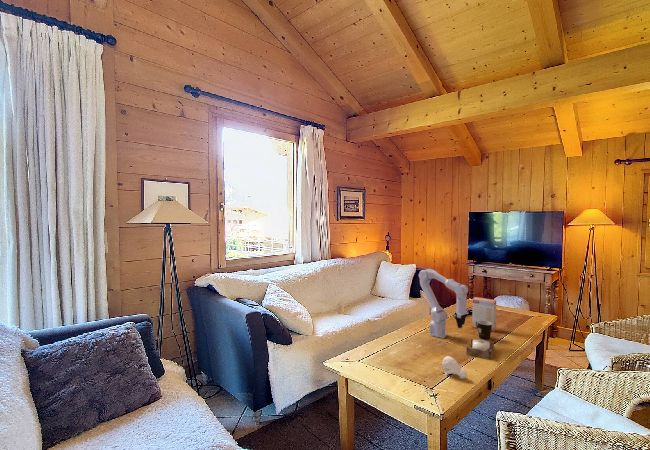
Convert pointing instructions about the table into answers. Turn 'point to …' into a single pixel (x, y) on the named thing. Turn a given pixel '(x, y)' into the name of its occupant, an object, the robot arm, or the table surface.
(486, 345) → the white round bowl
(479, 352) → the cradle
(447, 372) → the white rounded piece
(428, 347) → the table surface
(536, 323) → the table surface
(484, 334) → the coffee mug
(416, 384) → the table surface
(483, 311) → the cracker box
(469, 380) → the table surface
